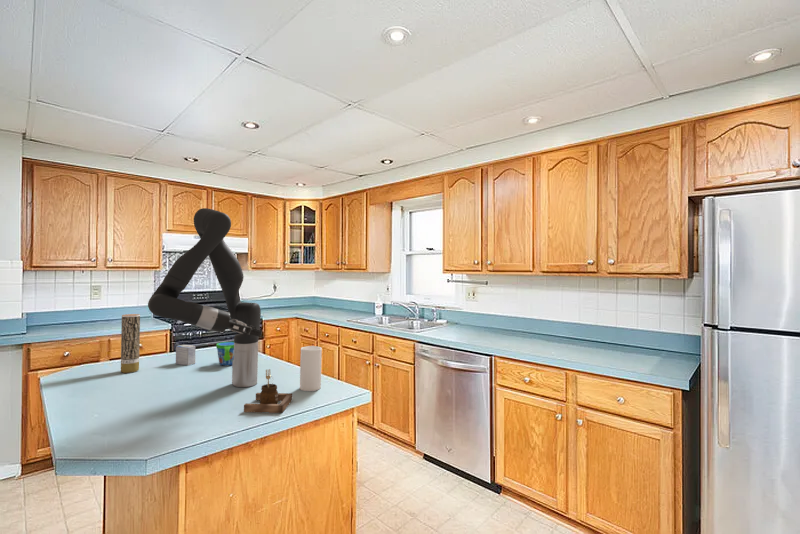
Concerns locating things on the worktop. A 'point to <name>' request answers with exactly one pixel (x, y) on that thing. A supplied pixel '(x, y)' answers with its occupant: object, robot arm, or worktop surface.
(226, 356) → the snack cup
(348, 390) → the worktop surface
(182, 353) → the medicine box
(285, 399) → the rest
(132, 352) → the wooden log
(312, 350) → the cup
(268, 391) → the utensil holder
